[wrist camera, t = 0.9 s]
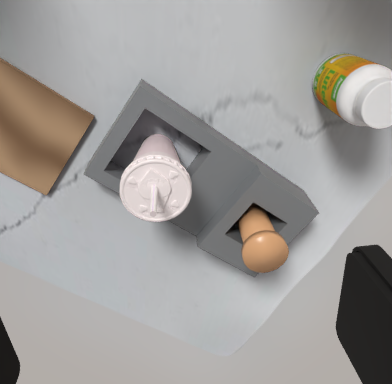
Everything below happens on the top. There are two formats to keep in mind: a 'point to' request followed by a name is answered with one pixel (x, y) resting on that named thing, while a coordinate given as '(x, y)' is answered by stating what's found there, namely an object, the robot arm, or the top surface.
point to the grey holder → (210, 180)
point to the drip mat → (36, 129)
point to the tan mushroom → (261, 241)
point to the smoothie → (156, 182)
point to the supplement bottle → (355, 90)
